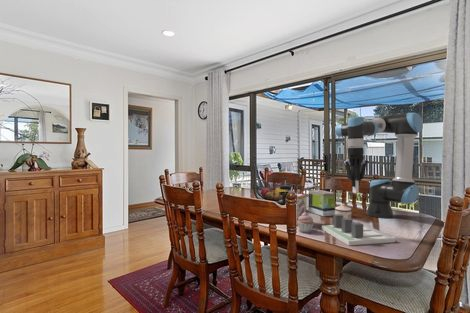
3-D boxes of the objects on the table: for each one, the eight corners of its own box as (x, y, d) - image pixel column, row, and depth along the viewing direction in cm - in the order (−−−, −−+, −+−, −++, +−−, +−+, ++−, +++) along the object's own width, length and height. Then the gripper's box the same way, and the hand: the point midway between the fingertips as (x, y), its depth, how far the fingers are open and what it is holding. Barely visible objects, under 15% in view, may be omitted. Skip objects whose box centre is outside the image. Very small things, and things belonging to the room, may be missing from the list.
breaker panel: (361, 226, 149) (361, 223, 149) (395, 242, 125) (395, 237, 125) (321, 229, 144) (321, 225, 144) (348, 245, 121) (348, 240, 121)
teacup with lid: (349, 227, 148) (350, 206, 148) (332, 224, 153) (333, 204, 153) (354, 222, 158) (354, 202, 157) (338, 219, 163) (338, 200, 163)
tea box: (335, 215, 174) (335, 192, 173) (322, 217, 170) (323, 193, 169) (319, 210, 188) (319, 189, 187) (307, 211, 184) (308, 190, 183)
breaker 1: (339, 225, 143) (340, 214, 143) (343, 226, 140) (343, 215, 140) (332, 225, 143) (333, 214, 142) (336, 227, 140) (336, 215, 139)
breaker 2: (358, 234, 128) (359, 222, 127) (363, 236, 125) (363, 224, 125) (351, 235, 127) (351, 222, 127) (355, 237, 124) (355, 224, 124)
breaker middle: (348, 229, 136) (348, 217, 135) (352, 231, 133) (352, 219, 132) (341, 230, 135) (341, 218, 135) (345, 232, 132) (345, 219, 132)
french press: (279, 207, 196) (280, 176, 195) (292, 208, 193) (293, 176, 192) (276, 211, 185) (276, 177, 184) (290, 212, 182) (290, 178, 181)
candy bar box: (296, 226, 150) (296, 197, 149) (288, 224, 153) (288, 195, 153) (306, 222, 158) (307, 194, 157) (299, 220, 161) (299, 193, 161)
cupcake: (309, 235, 135) (309, 215, 134) (292, 231, 141) (292, 212, 141) (317, 230, 142) (317, 212, 141) (301, 227, 148) (301, 209, 148)
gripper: (361, 146, 143) (361, 190, 144) (339, 147, 140) (339, 192, 142) (371, 147, 136) (371, 193, 137) (348, 147, 133) (348, 195, 134)
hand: (355, 192), depth 139 cm, fingers closed
